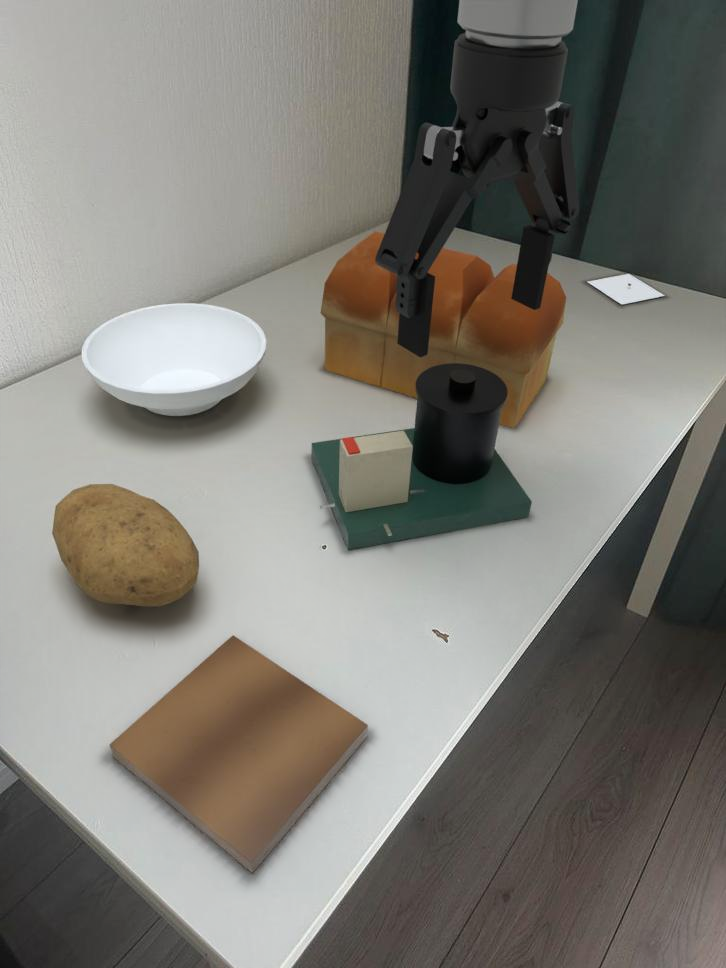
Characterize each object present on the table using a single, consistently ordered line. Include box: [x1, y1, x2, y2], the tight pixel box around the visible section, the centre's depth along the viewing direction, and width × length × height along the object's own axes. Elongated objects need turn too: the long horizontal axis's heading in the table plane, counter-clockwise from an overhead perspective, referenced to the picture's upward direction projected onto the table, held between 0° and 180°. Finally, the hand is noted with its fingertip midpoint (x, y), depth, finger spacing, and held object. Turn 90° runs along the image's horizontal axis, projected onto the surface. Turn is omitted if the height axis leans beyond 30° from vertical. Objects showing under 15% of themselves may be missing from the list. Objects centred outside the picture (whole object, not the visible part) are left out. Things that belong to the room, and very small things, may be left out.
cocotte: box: [412, 363, 508, 484], centre depth 74 cm, size 9×9×10 cm
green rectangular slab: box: [310, 427, 533, 551], centre depth 76 cm, size 15×20×2 cm
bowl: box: [81, 302, 267, 417], centre depth 86 cm, size 20×20×7 cm
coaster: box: [587, 273, 665, 305], centre depth 114 cm, size 8×8×1 cm
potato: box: [51, 483, 200, 607], centre depth 63 cm, size 10×14×8 cm
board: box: [109, 634, 369, 874], centre depth 54 cm, size 13×12×2 cm
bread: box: [320, 230, 567, 429], centre depth 89 cm, size 25×12×15 cm, turn 63°
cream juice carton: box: [339, 430, 413, 512], centre depth 70 cm, size 6×2×7 cm, turn 107°
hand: (471, 325), depth 65 cm, fingers open, 13 cm apart
